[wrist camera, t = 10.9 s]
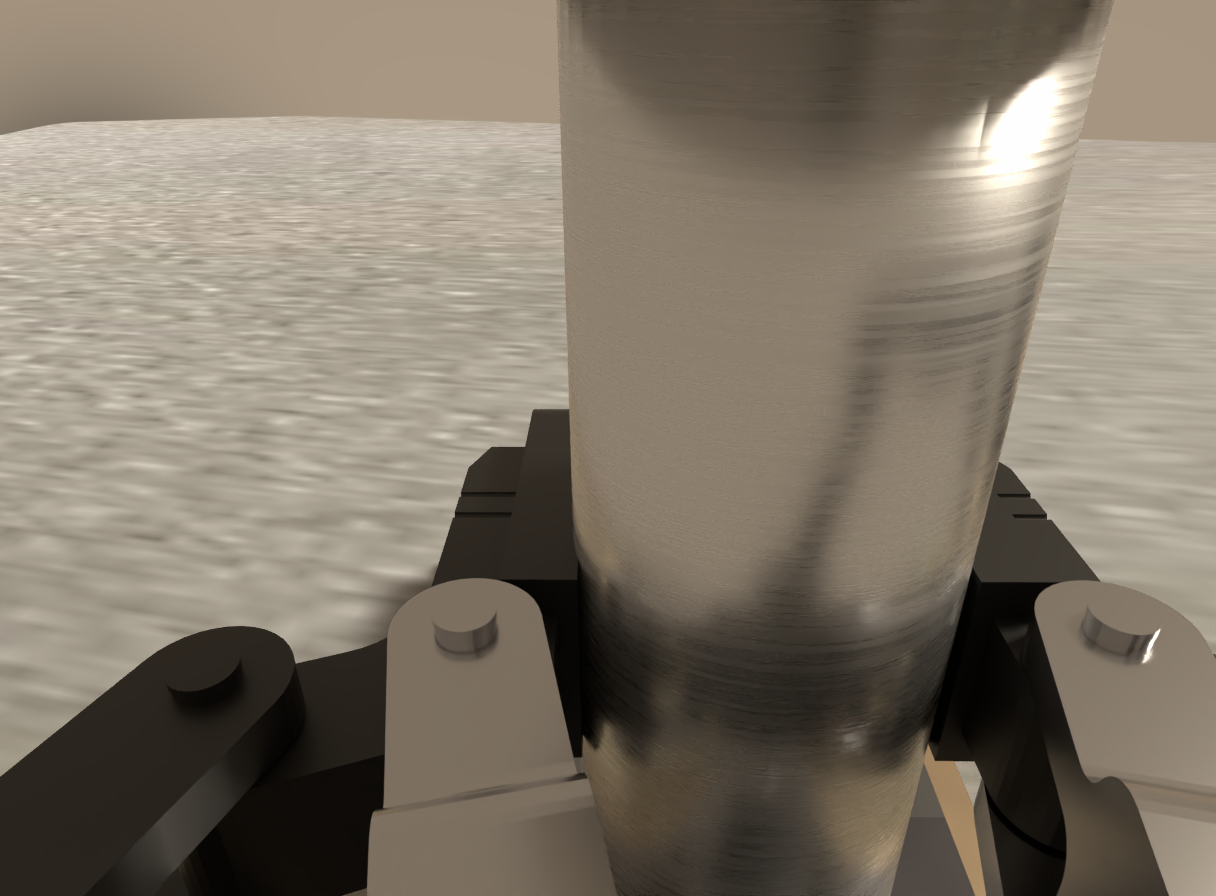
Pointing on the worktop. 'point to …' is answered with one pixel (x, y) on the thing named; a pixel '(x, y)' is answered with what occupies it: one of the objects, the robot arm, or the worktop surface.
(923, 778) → the pin socket base plate
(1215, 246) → the worktop surface
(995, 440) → the steel pin
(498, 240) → the worktop surface
